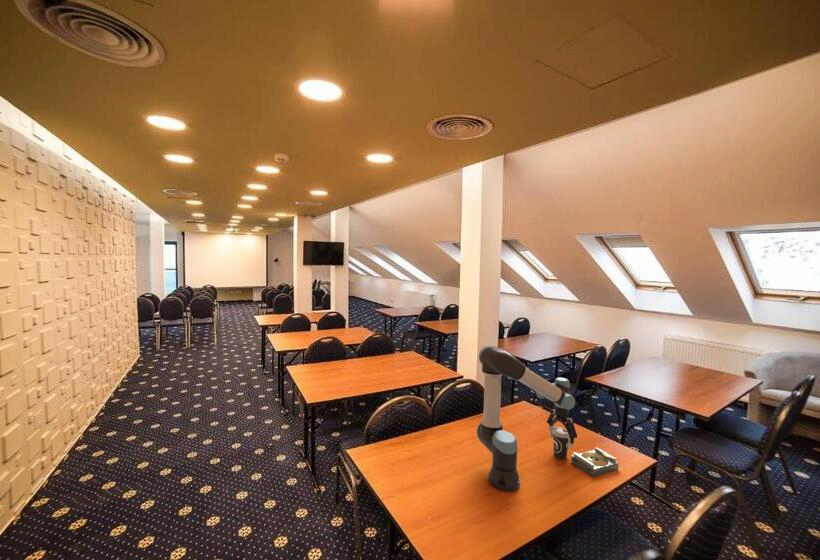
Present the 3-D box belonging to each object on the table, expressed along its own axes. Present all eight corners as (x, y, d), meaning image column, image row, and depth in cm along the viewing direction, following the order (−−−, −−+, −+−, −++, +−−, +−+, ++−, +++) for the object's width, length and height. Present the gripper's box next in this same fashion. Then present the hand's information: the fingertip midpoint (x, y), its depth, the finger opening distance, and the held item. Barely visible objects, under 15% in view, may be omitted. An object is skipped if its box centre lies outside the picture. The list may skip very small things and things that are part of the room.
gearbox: (592, 477, 176) (592, 466, 176) (570, 462, 189) (570, 452, 189) (618, 470, 182) (618, 459, 182) (595, 456, 195) (595, 446, 195)
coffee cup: (567, 462, 188) (568, 436, 188) (549, 456, 194) (549, 430, 194) (571, 455, 196) (572, 429, 196) (553, 449, 202) (554, 424, 201)
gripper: (585, 413, 184) (584, 452, 185) (550, 397, 207) (550, 431, 208) (574, 415, 181) (573, 455, 182) (540, 398, 204) (540, 433, 205)
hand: (561, 442), depth 195 cm, fingers open, 13 cm apart
